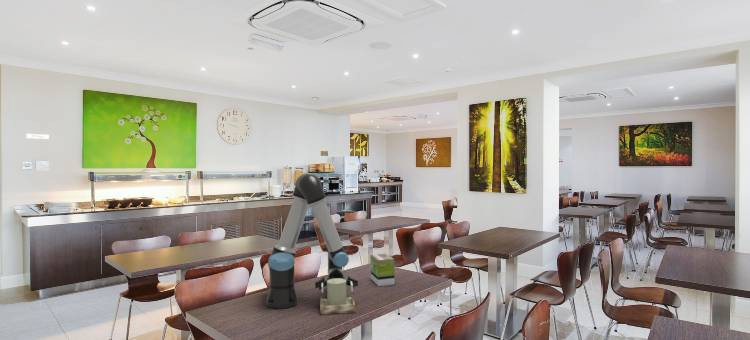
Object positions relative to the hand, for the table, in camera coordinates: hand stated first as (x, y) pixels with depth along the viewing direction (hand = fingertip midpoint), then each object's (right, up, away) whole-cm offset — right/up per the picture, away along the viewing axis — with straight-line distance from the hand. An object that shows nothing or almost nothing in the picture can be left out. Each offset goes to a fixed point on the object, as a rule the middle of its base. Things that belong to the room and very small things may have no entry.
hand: (337, 289), depth 189 cm
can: (-1, -9, +3) cm, 9 cm away
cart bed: (0, -10, +3) cm, 10 cm away
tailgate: (-2, -10, +13) cm, 16 cm away
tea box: (+21, -9, +45) cm, 51 cm away
